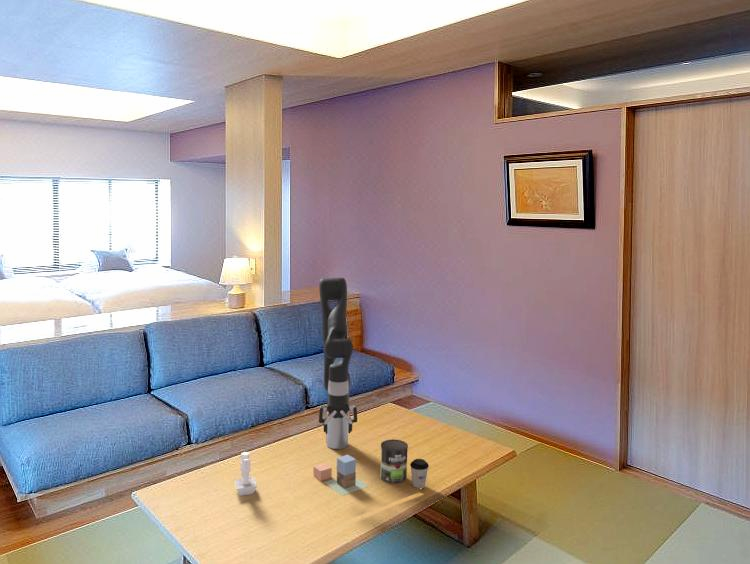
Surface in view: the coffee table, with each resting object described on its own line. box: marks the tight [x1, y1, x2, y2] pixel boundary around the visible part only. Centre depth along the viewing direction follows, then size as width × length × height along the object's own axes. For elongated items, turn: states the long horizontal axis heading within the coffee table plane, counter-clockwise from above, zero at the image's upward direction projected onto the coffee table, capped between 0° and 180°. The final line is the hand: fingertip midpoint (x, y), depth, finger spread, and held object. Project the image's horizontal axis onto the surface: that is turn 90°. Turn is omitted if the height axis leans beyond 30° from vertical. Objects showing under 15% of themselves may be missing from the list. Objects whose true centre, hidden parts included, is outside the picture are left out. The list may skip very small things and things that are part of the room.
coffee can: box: [379, 439, 409, 485], centre depth 220 cm, size 10×10×14 cm
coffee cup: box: [409, 458, 429, 490], centre depth 215 cm, size 7×7×10 cm
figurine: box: [233, 451, 258, 497], centre depth 208 cm, size 7×9×15 cm
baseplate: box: [323, 477, 369, 496], centre depth 214 cm, size 12×12×1 cm
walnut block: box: [336, 470, 357, 489], centre depth 214 cm, size 5×5×5 cm
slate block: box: [336, 454, 357, 476], centre depth 213 cm, size 5×5×5 cm
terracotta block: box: [312, 462, 333, 482], centre depth 219 cm, size 5×5×5 cm
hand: (337, 432), depth 215 cm, fingers open, 8 cm apart
